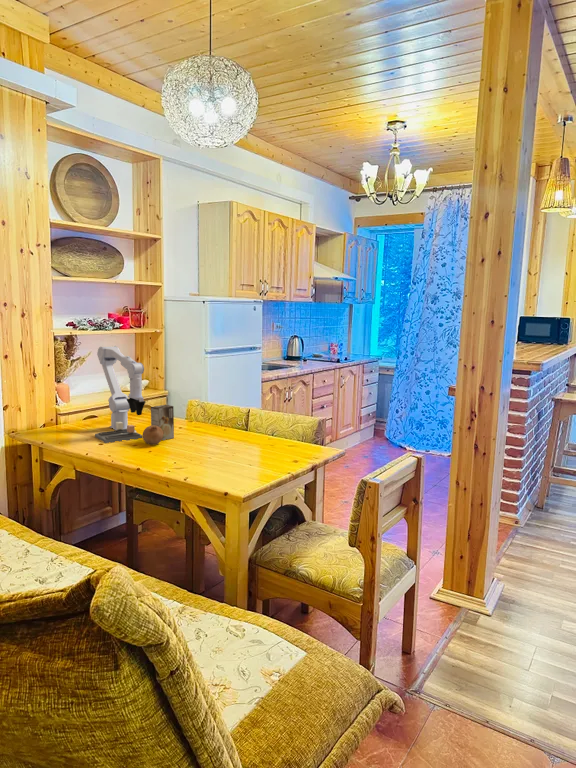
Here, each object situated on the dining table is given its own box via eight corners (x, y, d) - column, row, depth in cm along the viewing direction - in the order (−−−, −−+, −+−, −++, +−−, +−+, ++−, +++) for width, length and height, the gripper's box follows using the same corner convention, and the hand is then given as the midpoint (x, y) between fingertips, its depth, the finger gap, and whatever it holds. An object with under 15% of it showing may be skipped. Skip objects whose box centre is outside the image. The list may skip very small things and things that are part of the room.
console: (94, 436, 261) (94, 431, 261) (130, 432, 272) (130, 427, 272) (105, 443, 249) (105, 437, 249) (142, 438, 260) (142, 432, 260)
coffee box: (165, 436, 266) (165, 404, 264) (174, 438, 262) (174, 405, 260) (150, 439, 259) (150, 406, 257) (159, 441, 255) (159, 408, 253)
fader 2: (127, 435, 259) (127, 425, 258) (132, 434, 260) (131, 424, 260) (129, 436, 256) (129, 426, 256) (134, 435, 258) (134, 426, 257)
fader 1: (116, 431, 265) (115, 422, 265) (120, 431, 267) (120, 421, 266) (118, 433, 263) (118, 423, 262) (123, 432, 264) (122, 422, 263)
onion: (156, 452, 248) (157, 435, 242) (138, 445, 249) (139, 428, 244) (166, 440, 256) (167, 424, 250) (148, 434, 257) (149, 417, 252)
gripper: (122, 385, 271) (123, 412, 273) (133, 389, 260) (134, 416, 262) (136, 384, 275) (136, 410, 277) (147, 388, 264) (147, 415, 266)
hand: (136, 413), depth 270 cm, fingers open, 7 cm apart
